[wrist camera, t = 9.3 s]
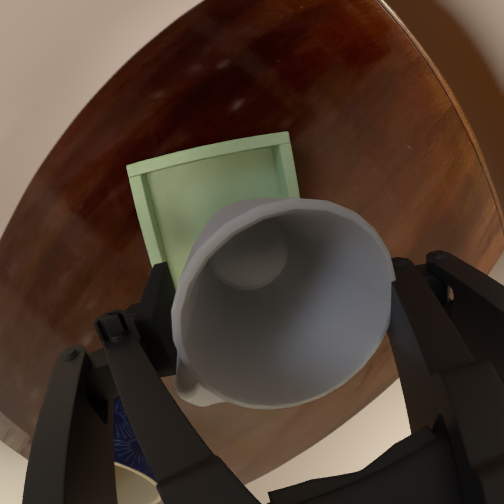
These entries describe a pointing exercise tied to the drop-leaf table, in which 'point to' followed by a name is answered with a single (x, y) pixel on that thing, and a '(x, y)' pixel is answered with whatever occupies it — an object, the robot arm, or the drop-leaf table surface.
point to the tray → (205, 190)
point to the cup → (279, 303)
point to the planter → (131, 463)
